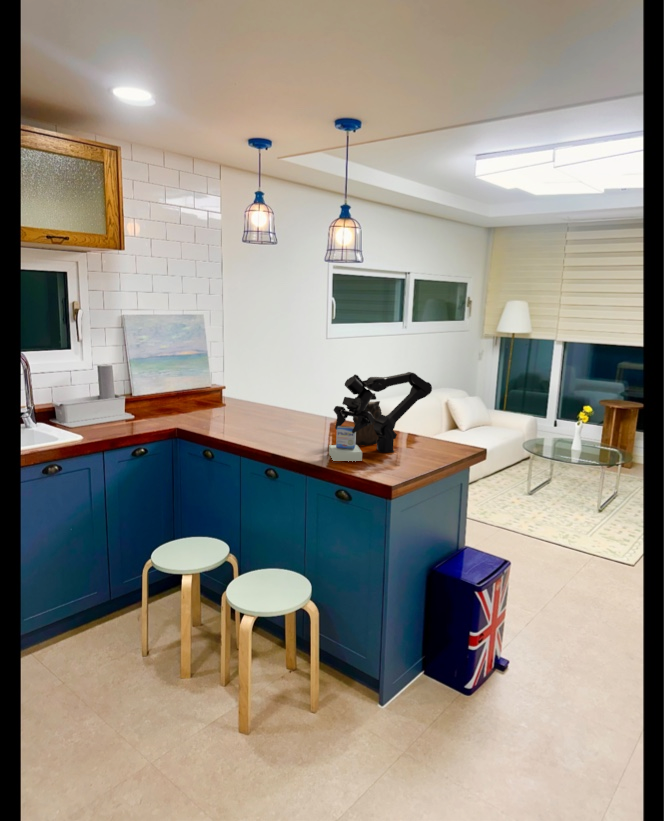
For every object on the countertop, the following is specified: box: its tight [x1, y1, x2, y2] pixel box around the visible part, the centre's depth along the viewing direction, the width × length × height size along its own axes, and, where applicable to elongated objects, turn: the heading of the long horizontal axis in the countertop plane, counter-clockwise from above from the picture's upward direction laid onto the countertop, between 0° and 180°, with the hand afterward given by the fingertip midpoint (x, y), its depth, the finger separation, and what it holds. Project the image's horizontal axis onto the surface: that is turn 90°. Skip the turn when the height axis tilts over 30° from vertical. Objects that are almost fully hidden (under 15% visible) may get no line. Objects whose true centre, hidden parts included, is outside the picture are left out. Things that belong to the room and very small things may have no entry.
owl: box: [352, 400, 383, 446], centre depth 262 cm, size 13×13×20 cm
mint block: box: [328, 444, 363, 463], centre depth 237 cm, size 12×12×4 cm
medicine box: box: [335, 425, 356, 449], centre depth 235 cm, size 8×4×9 cm, turn 83°
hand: (344, 430), depth 234 cm, fingers closed on medicine box, 9 cm apart
